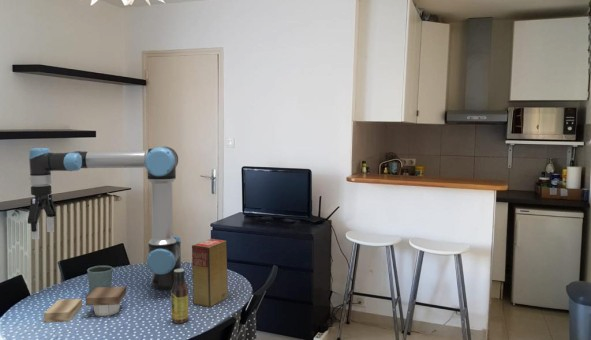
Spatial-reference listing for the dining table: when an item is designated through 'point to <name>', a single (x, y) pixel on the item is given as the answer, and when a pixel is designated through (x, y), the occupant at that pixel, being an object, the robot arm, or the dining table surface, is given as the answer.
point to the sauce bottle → (179, 297)
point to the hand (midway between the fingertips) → (43, 235)
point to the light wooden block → (63, 310)
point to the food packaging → (209, 272)
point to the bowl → (106, 309)
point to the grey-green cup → (99, 277)
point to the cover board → (106, 296)
